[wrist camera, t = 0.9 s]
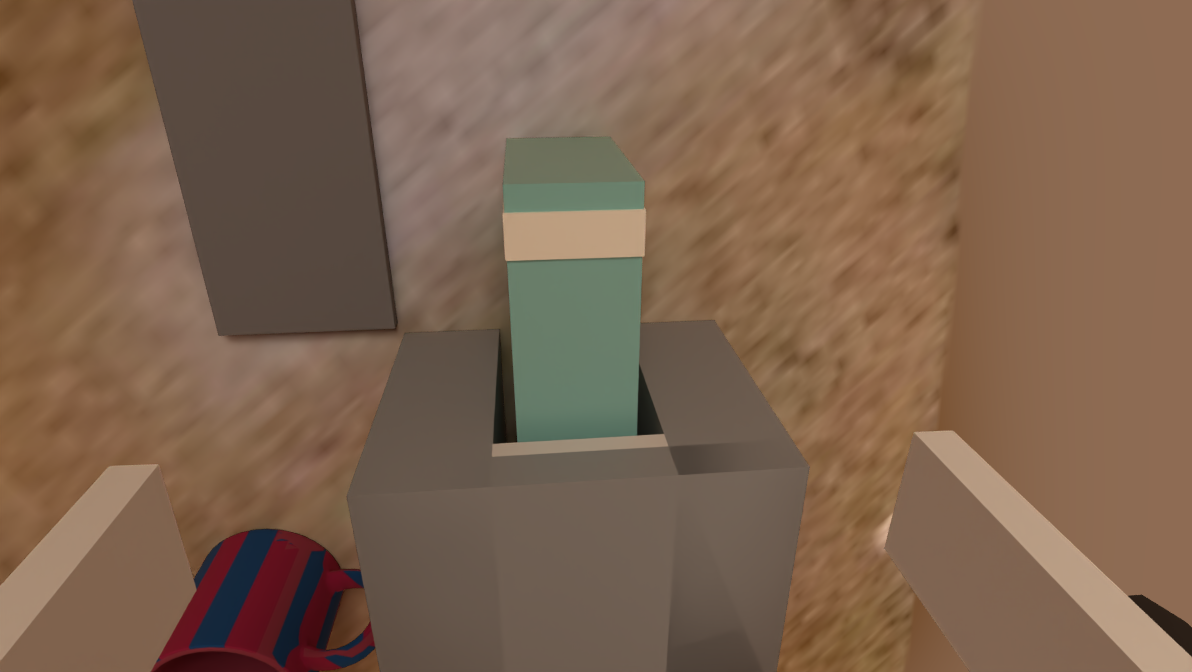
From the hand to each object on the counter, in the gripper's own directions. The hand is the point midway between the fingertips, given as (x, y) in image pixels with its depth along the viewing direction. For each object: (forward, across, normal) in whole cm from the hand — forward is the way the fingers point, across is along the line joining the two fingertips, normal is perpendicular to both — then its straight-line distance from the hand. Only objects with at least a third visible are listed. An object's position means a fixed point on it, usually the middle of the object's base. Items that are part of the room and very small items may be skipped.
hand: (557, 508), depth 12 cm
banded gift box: (+17, +1, -2) cm, 17 cm away
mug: (+18, -12, -17) cm, 27 cm away
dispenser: (+17, +1, -9) cm, 20 cm away
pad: (+17, -10, +3) cm, 20 cm away
